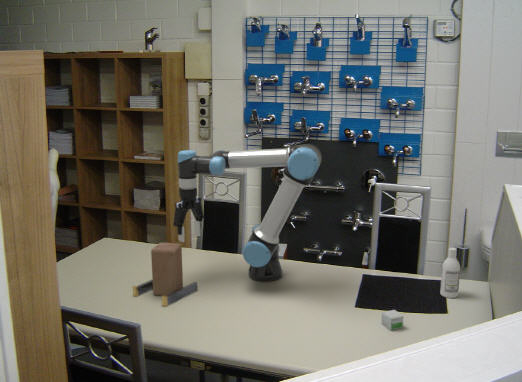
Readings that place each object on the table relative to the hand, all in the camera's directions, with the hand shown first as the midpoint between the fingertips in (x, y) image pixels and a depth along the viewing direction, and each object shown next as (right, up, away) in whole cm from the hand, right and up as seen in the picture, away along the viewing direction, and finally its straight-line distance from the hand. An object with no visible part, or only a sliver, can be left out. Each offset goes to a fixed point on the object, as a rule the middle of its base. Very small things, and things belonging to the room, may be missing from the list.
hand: (189, 238), depth 233 cm
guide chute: (-9, -22, -8) cm, 25 cm away
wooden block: (-8, -22, -7) cm, 24 cm away
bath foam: (+108, -23, -10) cm, 110 cm away
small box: (+78, -29, -36) cm, 91 cm away
